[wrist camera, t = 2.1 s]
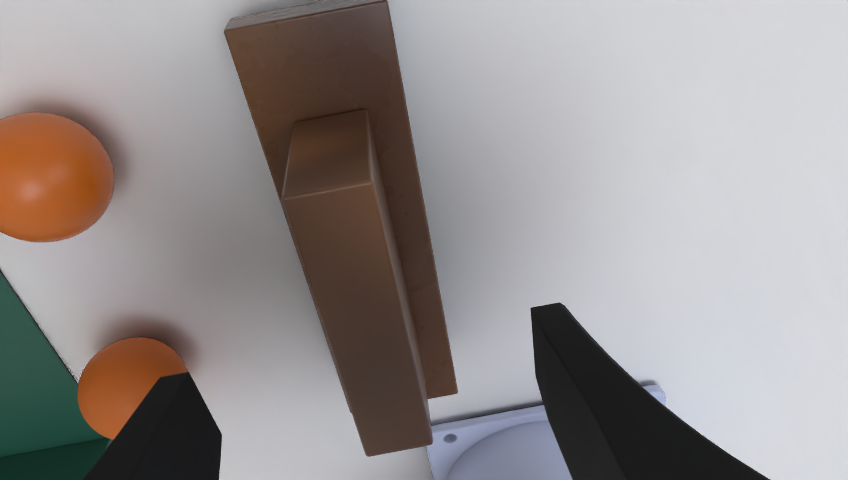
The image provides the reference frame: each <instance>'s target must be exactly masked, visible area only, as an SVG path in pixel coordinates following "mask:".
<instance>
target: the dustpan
mask: <svg viewBox="0 0 848 480" xmlns="http://www.w3.org/2000/svg"><path fill="white" fill-rule="evenodd" d="M112 441H113V440H112V439H109V438H106V437H104V436H102V435H101V434H99V433H97V432H96V431H95V430H93V429H92V428H91V427H90V426H89V424H88V423H87V422H86V421H85V419H84V417H83V416H82V413H81V411H80V408H79V404H78V384H77V383H76V381H75V380H74V379H73V377H72V376H71V374H70V373H69V371H68V370H67V368H66V367H65V365H64V364H63V362H62V361H61V359H60V358H59V357H58V355H57V354H56V352H55V351H54V349H53V348H52V346H51V345H50V343H49V342H48V340H47V339H46V337H45V336H44V335H43V333H42V332H41V330H40V329H39V327H38V326H37V324H36V323H35V321H34V320H33V318H32V317H31V315H30V314H29V313H28V311H27V310H26V308H25V307H24V305H23V304H22V302H21V301H20V299H19V298H18V296H17V295H16V293H15V292H14V291H13V289H12V288H11V286H10V285H9V283H8V282H7V280H6V279H5V277H4V276H3V274H2V273H1V271H0V480H83V478H84V477H85V476H86V475H87V473H88V472H89V471H90V470H91V469H92V467H93V466H94V465H95V463H96V462H97V461H98V460H99V458H100V457H101V456H102V454H103V453H104V452H105V450H106V449H107V448H108V446H109V445H110V444H111V442H112Z"/></svg>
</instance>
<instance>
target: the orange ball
mask: <svg viewBox="0 0 848 480" xmlns="http://www.w3.org/2000/svg"><path fill="white" fill-rule="evenodd" d="M185 372H188V371H187V368H186V366H185V364H184V362H183V360H182V359H181V357H180V356H179V355H178V354H177V352H176V351H174V350H173V349H172V348H171V347H169V346H168V345H166V344H164V343H163V342H160V341H158V340H155V339H151V338H144V337H135V338H127V339H123V340H120V341H117V342H114V343H112V344H110V345H108V346H106V347H105V348H103V349H102V350H100V351H99V352H98V353H97V354H96V355H95V356H94V357H93V358H92V359H91V360H90V361H89V363H88V364H87V365H86V367H85V369H84V371H83V373H82V375H81V378H80V381H79V385H78V404H79V408H80V411H81V413H82V416H83V417H84V419H85V421H86V422H87V423H88V424H89V426H90V427H91V428H92V429H93V430H95V431H96V432H97V433H99V434H101V435H102V436H104V437H106V438H109V439H112V440H114V438H115V437H116V436H117V434H118V433H119V432H120V430H121V429H122V428H123V426H124V425H125V424H126V422H127V421H128V419H129V418H130V417H131V415H132V414H133V413H134V411H135V410H136V409H137V407H138V406H139V404H140V403H141V402H142V400H143V399H144V398H145V396H146V395H147V393H148V392H149V391H150V389H151V388H152V387H153V385H154V384H155V383H156V382H157V380H158V379H159V378H160V377H163V376H169V375H174V374H179V373H185Z"/></svg>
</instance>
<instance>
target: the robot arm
mask: <svg viewBox="0 0 848 480" xmlns="http://www.w3.org/2000/svg"><path fill="white" fill-rule="evenodd" d="M531 320H532V333H533V347H534V360H535V374H536V379H537V383H538V386H539V390H540V393H541V397H542V400H543V404H544V405H541V406H535V407H530V408H525V409H519V410H514V411H508V412H503V413H498V414H492V415H487V416H482V417H476V418H471V419H465V420H460V421H455V422H449V423H444V424H439V425H434V426H431V429H432V436H433V443H432V445H429V446H426V450H427V454H428V458H429V462H430V467H431V471H432V475H433V479H434V480H770V479H768V478H766V477H765V476H763V475H762V474H760V473H758V472H757V471H755V470H754V469H752V468H750V467H749V466H747V465H746V464H744V463H743V462H741V461H739V460H738V459H736V458H735V457H733V456H731V455H730V454H728V453H727V452H725V451H724V450H723V449H721V448H720V447H718V446H717V445H715V444H714V443H713V442H711V441H710V440H708V439H707V438H705V437H704V436H703V435H701V434H700V433H699V432H697V431H696V430H695V429H693V428H692V427H691V426H689V425H688V424H687V423H685V422H684V421H683V420H681V419H680V418H679V417H678V416H676V415H675V414H674V413H673V412H671V411H670V410H669V409H668V408H666V407H665V399H666V397H665V393H664V392H663V390H662V388H661V387H660V386H657V385H648V386H643V387H642V386H641V385H640V384H639V383H638V382H637V381H635V380H634V379H633V378H632V377H631V376H630V375H629V374H628V373H627V372H626V371H625V370H624V369H623V368H622V367H621V366H620V365H619V364H618V363H617V362H616V361H615V360H613V359H612V358H611V357H610V356H609V355H608V354H607V353H606V352H605V351H604V350H603V348H602V347H601V346H600V345H599V344H598V343H597V342H596V341H595V340H594V339H593V338H592V337H591V336H590V335H589V334H588V332H587V331H586V330H585V329H584V328H583V327H582V326H581V325H580V323H579V322H578V321H577V320H576V319H575V318H574V316H573V315H572V314H571V313H570V312H569V310H568V309H567V308H566V307H565V306H564V305H563V304H561V303H554V304H549V305H543V306H538V307H533V308H531ZM448 434H450V435H448ZM221 441H222V434H221V432H220V430H219V428H218V426H217V425H216V423H215V421H214V419H213V417H212V415H211V413H210V411H209V409H208V407H207V406H206V404H205V402H204V400H203V398H202V396H201V394H200V392H199V390H198V389H197V387H196V385H195V383H194V381H193V379H192V377H191V375H190V373H189V372H185V373H179V374H174V375H169V376H163V377H160V378H159V379H158V380H157V382H156V383H155V384H154V385H153V387H152V388H151V389H150V391H149V392H148V393H147V395H146V396H145V398H144V399H143V400H142V402H141V403H140V404H139V406H138V407H137V409H136V410H135V411H134V413H133V414H132V415H131V417H130V418H129V419H128V421H127V422H126V424H125V425H124V426H123V428H122V429H121V430H120V432H119V433H118V434H117V436H116V437H115V438H114V440H113V441H112V442H111V444H110V445H109V446H108V448H107V449H106V450H105V452H104V453H103V454H102V456H101V457H100V458H99V460H98V461H97V462H96V463H95V465H94V466H93V467H92V469H91V470H90V471H89V472H88V473H87V475H86V476H85V477H84V478H83V480H219V470H220V458H221Z"/></svg>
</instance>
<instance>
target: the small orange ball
mask: <svg viewBox="0 0 848 480" xmlns="http://www.w3.org/2000/svg"><path fill="white" fill-rule="evenodd" d="M113 189H114V172H113V167H112V163H111V160H110V158H109V156H108V154H107V152H106V150H105V148H104V147H103V145H102V144H101V143H100V141H99V140H98V139H97V138H96V137H95V136H94V135H93V134H92V133H91V132H89V131H88V130H87V129H86V128H84V127H83V126H81V125H79V124H78V123H76V122H74V121H72V120H70V119H67V118H65V117H62V116H59V115H54V114H49V113H41V112H28V113H20V114H15V115H11V116H8V117H5V118H3V119H0V232H2V233H4V234H6V235H8V236H11V237H14V238H16V239H20V240H24V241H30V242H54V241H60V240H64V239H68V238H71V237H73V236H76V235H78V234H80V233H82V232H83V231H85V230H87V229H88V228H89V227H91V226H92V225H93V224H94V223H96V222H97V221H98V220H99V218H100V217H101V216H102V215H103V214H104V212H105V210H106V209H107V207H108V205H109V203H110V200H111V198H112V194H113Z"/></svg>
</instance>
